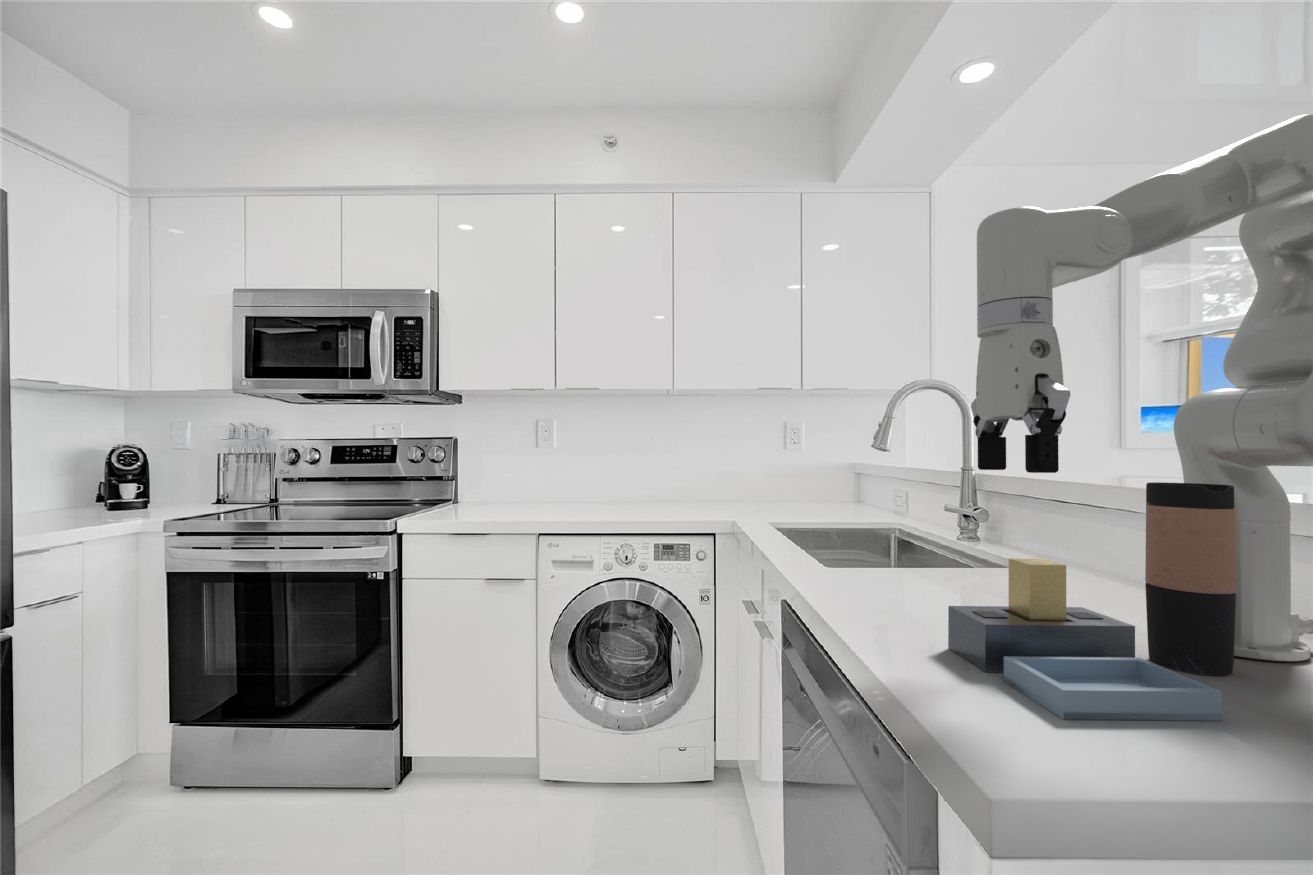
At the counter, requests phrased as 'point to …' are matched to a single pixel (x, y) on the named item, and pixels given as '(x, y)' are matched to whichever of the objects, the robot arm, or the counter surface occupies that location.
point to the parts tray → (1111, 689)
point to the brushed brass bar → (1037, 590)
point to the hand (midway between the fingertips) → (1015, 471)
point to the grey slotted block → (1034, 636)
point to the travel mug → (1191, 576)
